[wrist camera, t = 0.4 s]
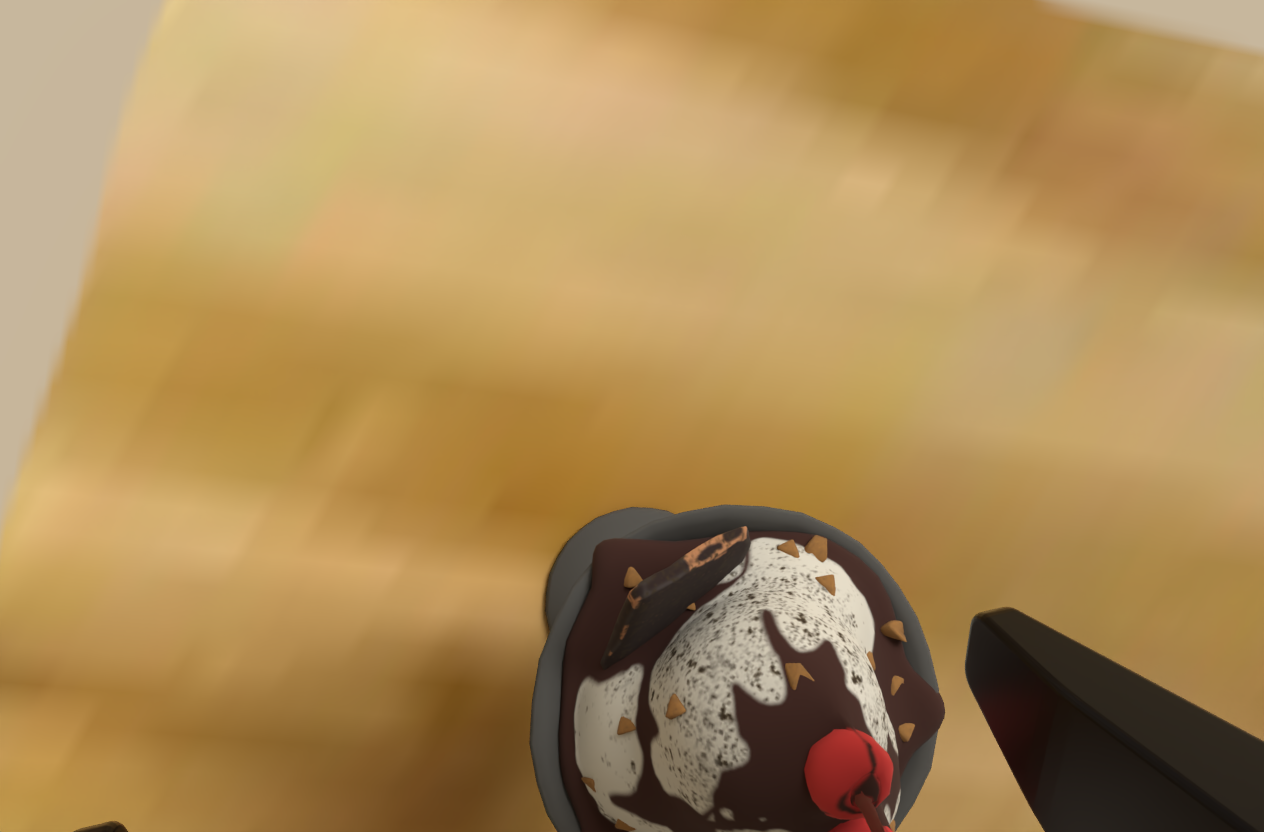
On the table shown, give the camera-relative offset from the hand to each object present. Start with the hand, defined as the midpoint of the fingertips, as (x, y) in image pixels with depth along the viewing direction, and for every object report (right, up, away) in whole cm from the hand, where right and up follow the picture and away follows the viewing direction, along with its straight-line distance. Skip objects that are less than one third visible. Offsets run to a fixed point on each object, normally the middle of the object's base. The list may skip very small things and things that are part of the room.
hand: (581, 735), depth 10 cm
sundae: (+1, -2, +15) cm, 15 cm away
